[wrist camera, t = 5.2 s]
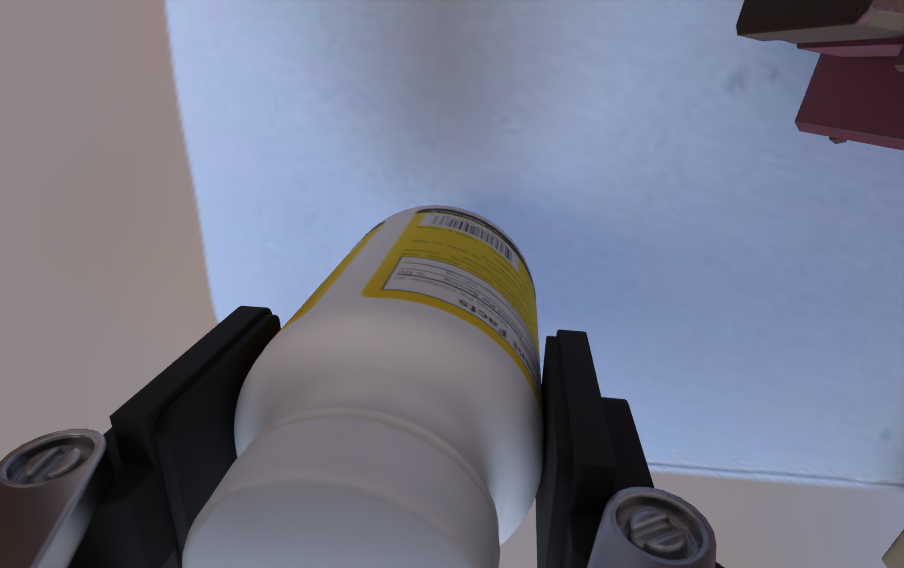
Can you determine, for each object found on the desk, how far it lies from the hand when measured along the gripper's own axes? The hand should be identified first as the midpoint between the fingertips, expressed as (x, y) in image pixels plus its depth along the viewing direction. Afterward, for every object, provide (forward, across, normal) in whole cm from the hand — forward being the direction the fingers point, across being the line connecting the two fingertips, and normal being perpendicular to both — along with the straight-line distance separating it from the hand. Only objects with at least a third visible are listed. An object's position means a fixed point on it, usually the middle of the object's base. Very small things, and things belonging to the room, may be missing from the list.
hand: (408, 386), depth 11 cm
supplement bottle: (+5, 0, 0) cm, 5 cm away
